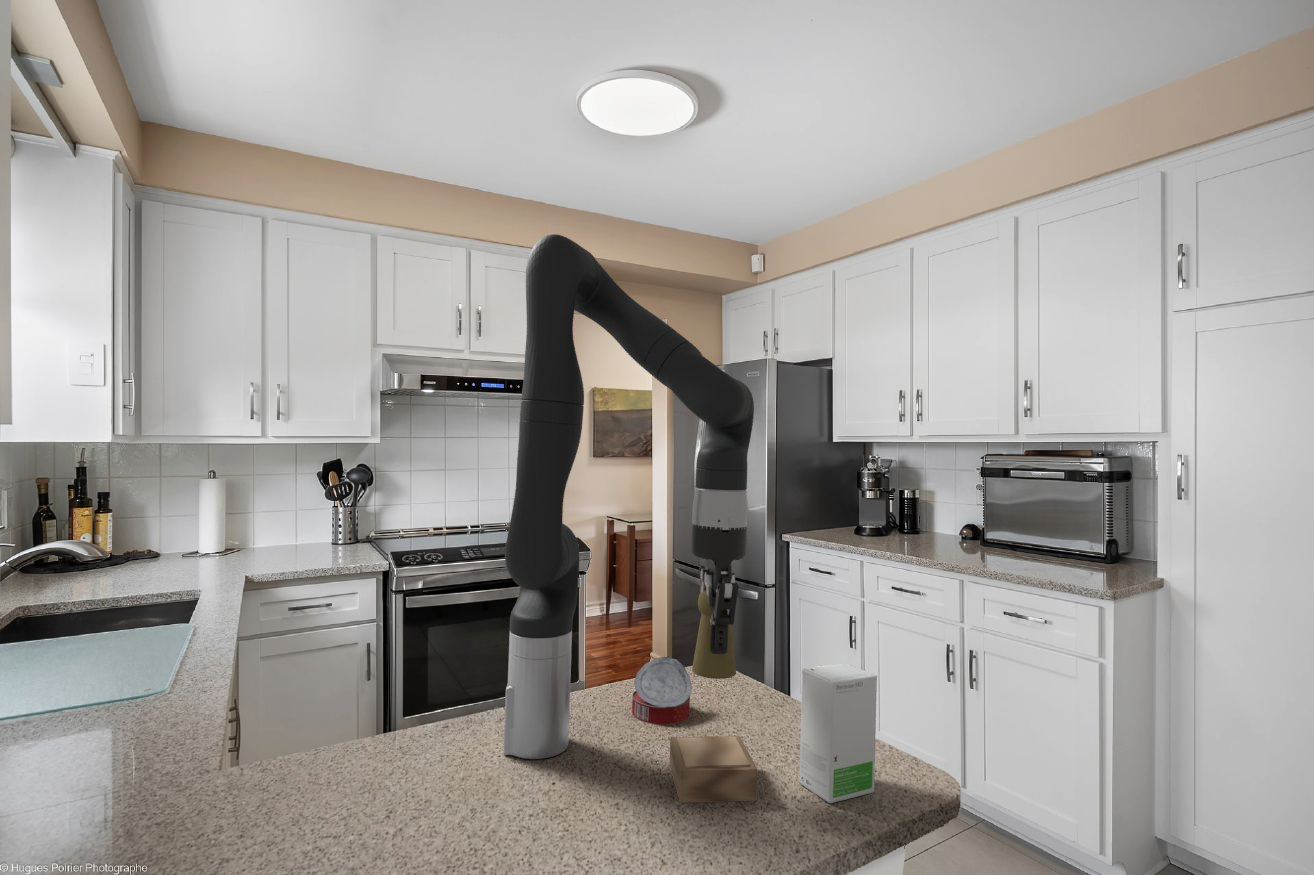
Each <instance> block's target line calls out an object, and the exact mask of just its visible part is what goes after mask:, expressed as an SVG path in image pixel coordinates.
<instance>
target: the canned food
mask: <svg viewBox="0 0 1314 875" xmlns="http://www.w3.org/2000/svg"><path fill="white" fill-rule="evenodd" d="M692 684H693V683H692V681H691V676H690V675H689V673H688V672H687V669H686V667H685V666H684V665H683V664H682V663H681V662H680V661H679V660H678V659H675V658H671V657H669V656H661V657H654V659H651V660H650V661H648V662H646V663H645V664H644V665H643V666H642V667H641V668H640V669H639V670H638V671H637V672H636V676H635V680H634V687H635V691H634V692H632V696H631V697H632V700H631V703H632V706H631V715H632V716H633V717H634V718H635V719H636V720H638V721H640V722H643V723H646V724H651V725H661V726H662V725H664V726H665V725H674V724H679V723H682V722H684V721H685V720H687V719H688V718H689V716H690V705H691V704H690V702H691V695H692V690H693V685H692Z"/></svg>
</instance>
